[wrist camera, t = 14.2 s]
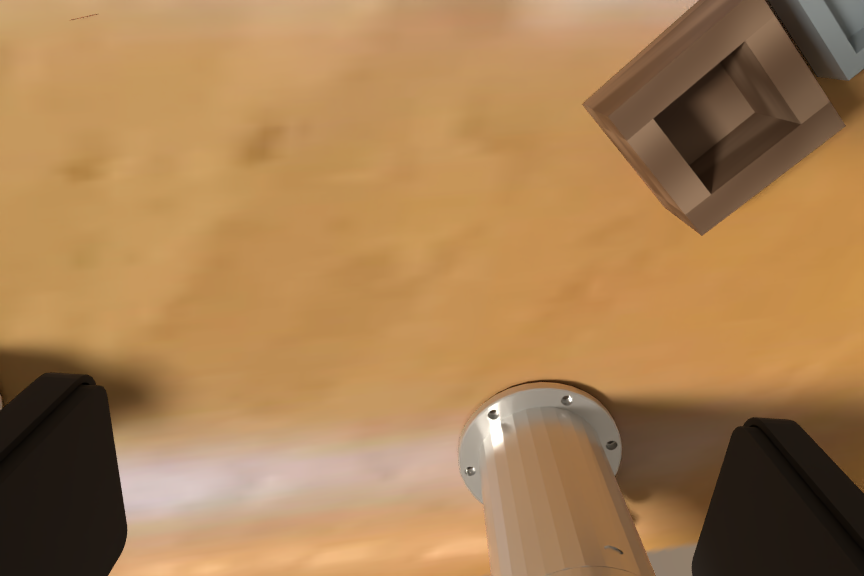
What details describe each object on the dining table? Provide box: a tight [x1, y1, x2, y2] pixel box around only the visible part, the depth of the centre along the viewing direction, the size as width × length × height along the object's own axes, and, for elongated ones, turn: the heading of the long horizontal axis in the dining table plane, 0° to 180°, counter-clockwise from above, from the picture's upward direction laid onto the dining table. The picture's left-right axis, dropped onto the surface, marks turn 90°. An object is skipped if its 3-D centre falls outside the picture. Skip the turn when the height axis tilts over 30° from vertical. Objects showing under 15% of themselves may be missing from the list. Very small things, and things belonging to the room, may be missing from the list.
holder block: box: [582, 0, 846, 235], centre depth 35 cm, size 9×9×6 cm
